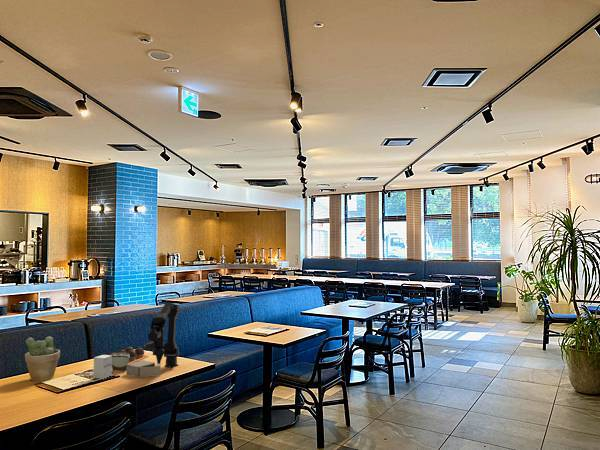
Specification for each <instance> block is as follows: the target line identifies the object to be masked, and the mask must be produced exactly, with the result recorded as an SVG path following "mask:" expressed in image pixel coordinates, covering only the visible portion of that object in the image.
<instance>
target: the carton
mask: <svg viewBox="0 0 600 450" xmlns="http://www.w3.org/2000/svg"><path fill="white" fill-rule="evenodd" d="M151 366H156V362H153V361H149V360H146V359H143V360H141V361H138V362H134V363H130V364H127V366H126V371H125V372H126V374H125V375H128V376H133V377H135V378H136V377H137V378H141V377H140V367H151Z"/></svg>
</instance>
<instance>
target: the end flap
mask: <svg viewBox="0 0 600 450" xmlns="http://www.w3.org/2000/svg"><path fill="white" fill-rule="evenodd" d="M161 363H162V362H160V364H158V362H157V361H156V365H155V366H151V367H140V377H139V378H145V377H156V376H161V373H162V372H161V370H162V369H161V368H162V367H161Z"/></svg>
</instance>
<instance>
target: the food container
mask: <svg viewBox="0 0 600 450" xmlns="http://www.w3.org/2000/svg"><path fill="white" fill-rule="evenodd" d="M114 353H115V352H114ZM111 356H112V372H116V371H117V372H126V366H127V364H128V361H129V358H130V355H129V353H117V352H116V353H115V354H112V355H111Z"/></svg>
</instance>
